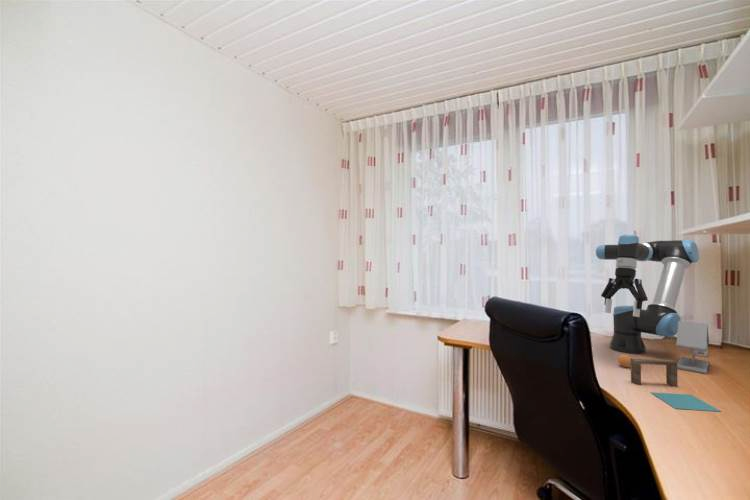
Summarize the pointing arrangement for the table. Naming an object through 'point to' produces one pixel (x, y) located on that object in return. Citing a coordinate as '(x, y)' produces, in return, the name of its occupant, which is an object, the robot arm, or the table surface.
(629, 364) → the ball
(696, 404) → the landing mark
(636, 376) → the bridge
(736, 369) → the table surface
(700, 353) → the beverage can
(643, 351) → the robot arm
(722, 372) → the table surface
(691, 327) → the folded metal stand
